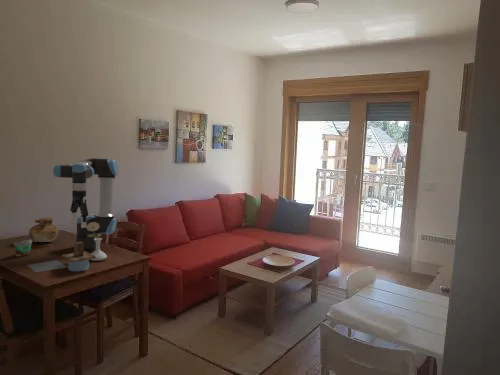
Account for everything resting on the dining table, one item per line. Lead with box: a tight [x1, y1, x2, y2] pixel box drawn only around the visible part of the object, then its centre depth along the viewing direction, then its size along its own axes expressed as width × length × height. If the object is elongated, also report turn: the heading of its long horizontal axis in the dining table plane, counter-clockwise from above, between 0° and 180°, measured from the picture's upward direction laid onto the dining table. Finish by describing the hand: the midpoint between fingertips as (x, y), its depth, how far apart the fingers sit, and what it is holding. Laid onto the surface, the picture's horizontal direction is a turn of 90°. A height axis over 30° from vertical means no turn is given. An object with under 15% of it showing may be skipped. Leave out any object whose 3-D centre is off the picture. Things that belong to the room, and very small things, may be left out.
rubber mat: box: [26, 259, 67, 273], centre depth 226 cm, size 17×17×1 cm
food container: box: [13, 237, 33, 258], centre depth 245 cm, size 12×6×10 cm, turn 168°
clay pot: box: [28, 217, 59, 243], centre depth 279 cm, size 19×19×20 cm
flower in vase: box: [86, 222, 108, 262], centre depth 244 cm, size 13×11×25 cm
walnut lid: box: [61, 241, 95, 263], centre depth 224 cm, size 14×14×9 cm
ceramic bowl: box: [67, 259, 90, 272], centre depth 225 cm, size 11×11×7 cm
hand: (79, 225), depth 223 cm, fingers open, 13 cm apart
